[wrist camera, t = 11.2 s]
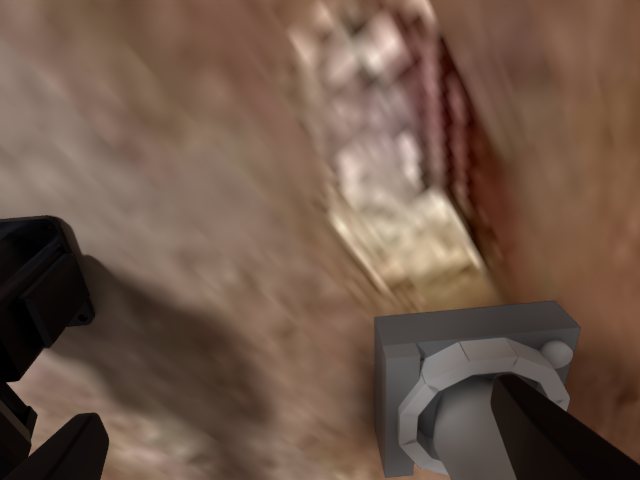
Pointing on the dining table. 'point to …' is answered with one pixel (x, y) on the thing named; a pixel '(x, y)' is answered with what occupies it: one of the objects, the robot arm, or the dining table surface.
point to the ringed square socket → (460, 368)
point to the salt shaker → (470, 433)
